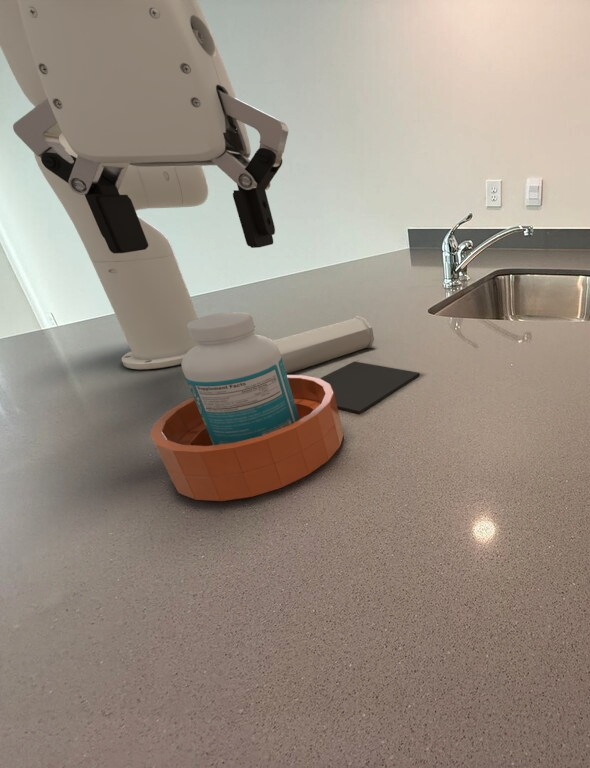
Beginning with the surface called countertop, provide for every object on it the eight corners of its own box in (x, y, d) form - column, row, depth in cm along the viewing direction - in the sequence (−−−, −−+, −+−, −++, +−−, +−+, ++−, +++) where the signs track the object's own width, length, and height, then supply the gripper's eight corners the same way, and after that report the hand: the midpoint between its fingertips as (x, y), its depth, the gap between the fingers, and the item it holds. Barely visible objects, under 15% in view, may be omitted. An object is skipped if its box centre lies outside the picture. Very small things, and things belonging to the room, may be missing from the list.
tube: (193, 379, 48) (374, 325, 66) (175, 356, 50) (355, 310, 68) (204, 412, 51) (374, 352, 69) (186, 389, 53) (355, 337, 71)
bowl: (139, 480, 37) (113, 429, 35) (278, 408, 49) (265, 367, 47) (246, 525, 32) (224, 468, 30) (373, 432, 44) (364, 387, 42)
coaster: (287, 397, 52) (286, 394, 52) (354, 363, 62) (354, 361, 62) (360, 414, 48) (359, 411, 48) (419, 375, 58) (419, 372, 57)
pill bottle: (245, 432, 44) (201, 309, 38) (316, 428, 44) (283, 305, 38) (203, 476, 37) (142, 334, 31) (287, 471, 37) (242, 330, 32)
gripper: (272, -14, 29) (325, 239, 36) (4, -18, 27) (115, 248, 35) (214, -78, 22) (294, 249, 29) (-146, -88, 21) (31, 260, 28)
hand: (197, 248), depth 32 cm, fingers open, 9 cm apart
